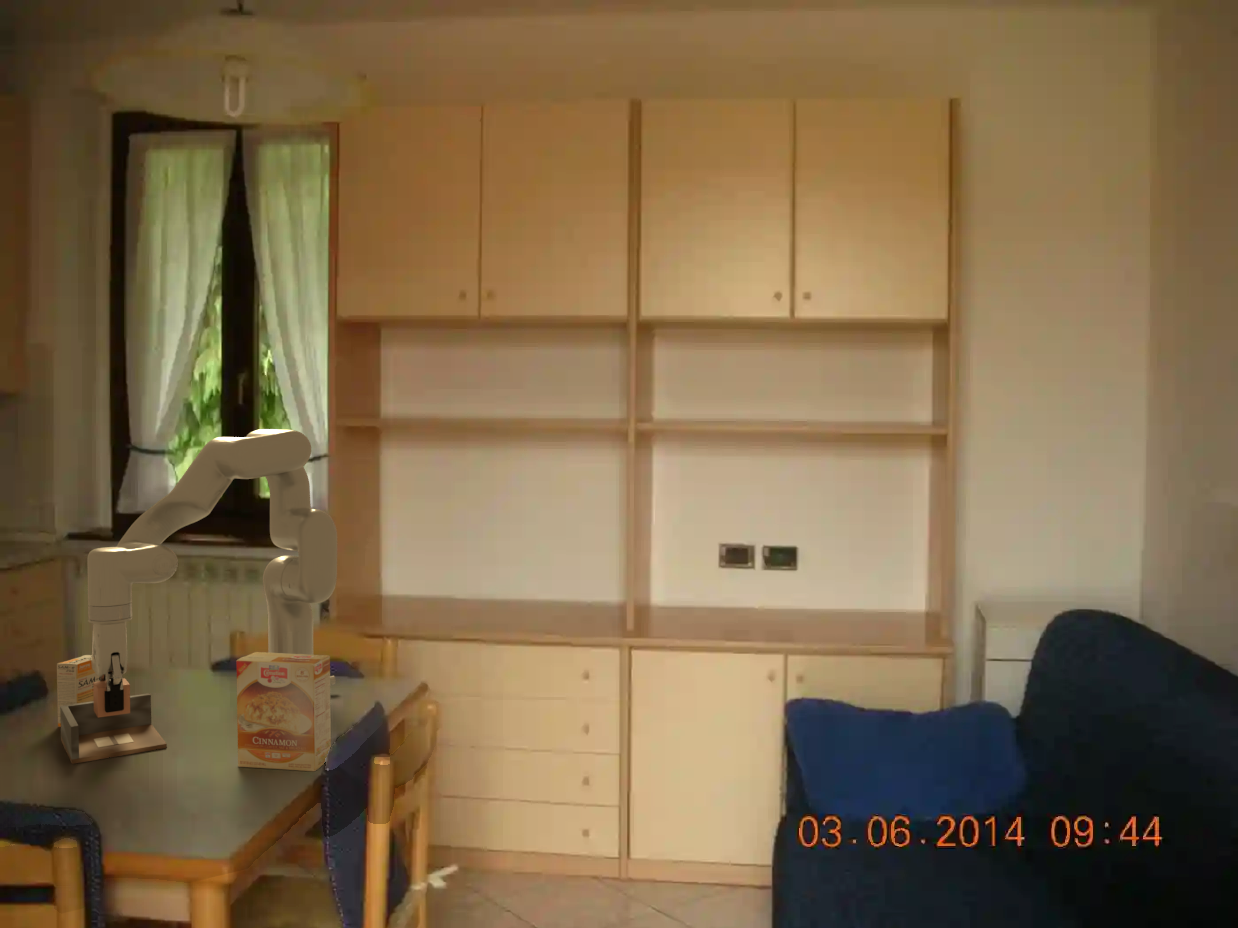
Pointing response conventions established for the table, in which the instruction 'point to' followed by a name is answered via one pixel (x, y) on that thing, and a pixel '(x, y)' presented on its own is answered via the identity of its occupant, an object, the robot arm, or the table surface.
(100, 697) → the cube
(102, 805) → the table surface
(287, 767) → the coffeecake box
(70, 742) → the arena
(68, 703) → the supplement box
